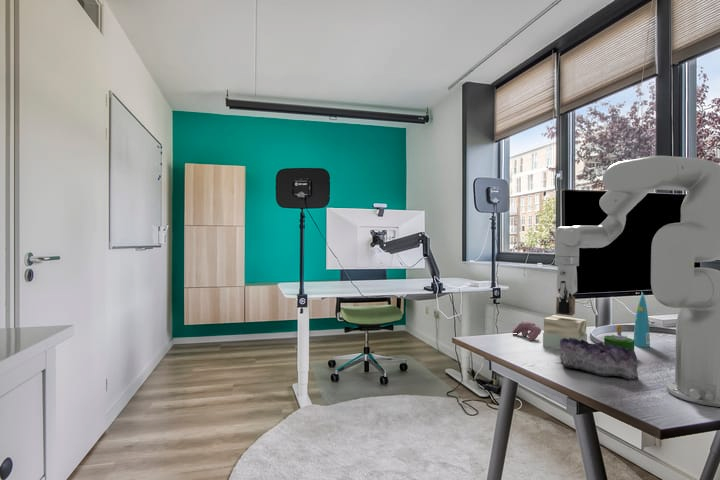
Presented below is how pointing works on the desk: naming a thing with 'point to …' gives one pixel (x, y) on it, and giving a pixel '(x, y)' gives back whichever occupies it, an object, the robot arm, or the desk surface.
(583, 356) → the geode
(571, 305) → the walnut block
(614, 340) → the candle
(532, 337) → the pink animal figurine
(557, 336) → the tower base
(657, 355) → the desk surface
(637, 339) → the tube
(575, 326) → the cream wooden block
